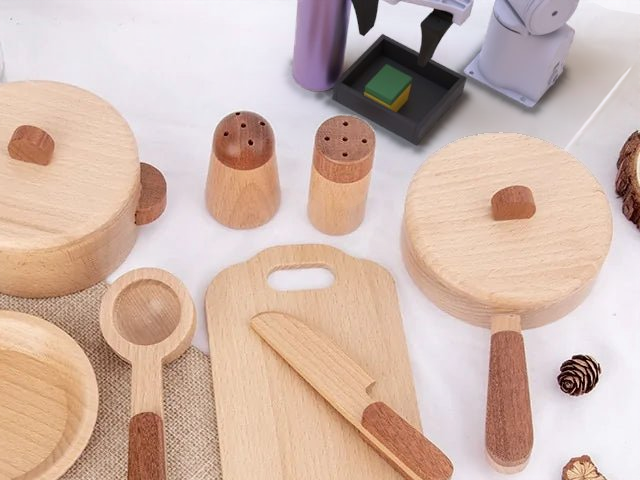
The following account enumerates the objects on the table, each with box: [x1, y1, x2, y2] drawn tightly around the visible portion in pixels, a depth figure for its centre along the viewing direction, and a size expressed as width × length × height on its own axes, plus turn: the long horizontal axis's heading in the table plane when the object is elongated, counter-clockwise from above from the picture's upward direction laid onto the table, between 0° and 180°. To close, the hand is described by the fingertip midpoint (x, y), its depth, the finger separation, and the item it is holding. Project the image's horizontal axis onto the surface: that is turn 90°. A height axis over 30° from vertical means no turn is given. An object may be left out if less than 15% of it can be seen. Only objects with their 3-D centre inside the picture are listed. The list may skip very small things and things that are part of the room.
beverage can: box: [291, 0, 353, 92], centre depth 122 cm, size 6×6×15 cm
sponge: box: [364, 64, 412, 112], centre depth 125 cm, size 4×4×4 cm
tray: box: [331, 33, 468, 146], centre depth 126 cm, size 12×10×3 cm
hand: (395, 45), depth 119 cm, fingers open, 7 cm apart
